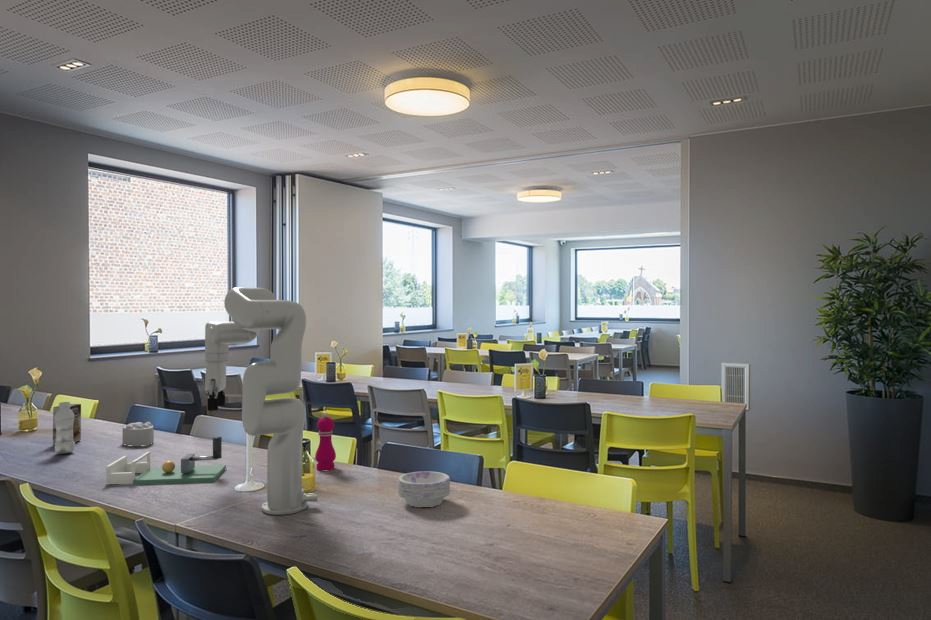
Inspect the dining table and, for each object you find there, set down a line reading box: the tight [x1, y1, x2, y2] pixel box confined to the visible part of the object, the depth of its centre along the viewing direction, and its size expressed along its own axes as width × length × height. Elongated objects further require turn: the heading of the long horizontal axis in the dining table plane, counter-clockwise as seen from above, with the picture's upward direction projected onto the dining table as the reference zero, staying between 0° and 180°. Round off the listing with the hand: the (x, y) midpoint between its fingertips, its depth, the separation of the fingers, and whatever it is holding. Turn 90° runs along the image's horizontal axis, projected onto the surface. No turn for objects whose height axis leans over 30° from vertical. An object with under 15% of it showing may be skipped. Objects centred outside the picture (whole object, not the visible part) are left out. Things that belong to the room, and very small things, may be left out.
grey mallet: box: [180, 436, 223, 473], centre depth 207 cm, size 12×7×11 cm, turn 98°
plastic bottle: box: [54, 401, 76, 455], centre depth 237 cm, size 6×7×20 cm
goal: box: [105, 451, 151, 486], centre depth 203 cm, size 9×14×7 cm, turn 8°
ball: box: [161, 460, 176, 473], centre depth 205 cm, size 4×4×4 cm
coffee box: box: [52, 403, 82, 446], centre depth 255 cm, size 9×6×16 cm
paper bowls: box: [397, 470, 451, 508], centre depth 178 cm, size 15×15×8 cm
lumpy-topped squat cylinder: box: [122, 421, 155, 447], centre depth 255 cm, size 10×13×9 cm
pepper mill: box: [314, 412, 337, 472], centre depth 216 cm, size 7×7×20 cm
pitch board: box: [132, 464, 227, 486], centre depth 206 cm, size 25×16×2 cm, turn 98°
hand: (216, 407), depth 207 cm, fingers open, 9 cm apart
